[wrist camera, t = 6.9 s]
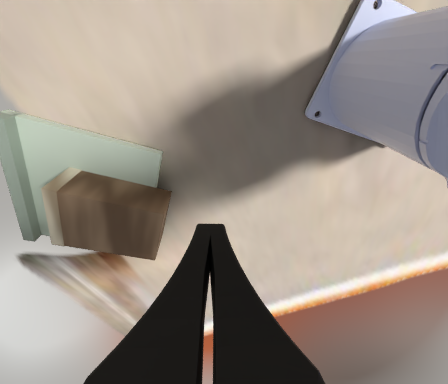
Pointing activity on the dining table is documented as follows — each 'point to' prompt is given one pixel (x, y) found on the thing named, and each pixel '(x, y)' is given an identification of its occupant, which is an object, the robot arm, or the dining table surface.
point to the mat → (62, 162)
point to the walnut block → (105, 213)
